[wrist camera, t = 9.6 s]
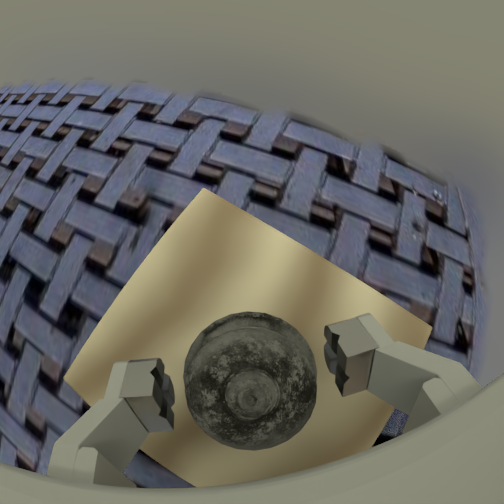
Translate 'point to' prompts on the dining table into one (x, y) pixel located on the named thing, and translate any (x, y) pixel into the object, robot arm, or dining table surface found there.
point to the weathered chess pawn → (250, 381)
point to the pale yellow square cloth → (230, 302)
